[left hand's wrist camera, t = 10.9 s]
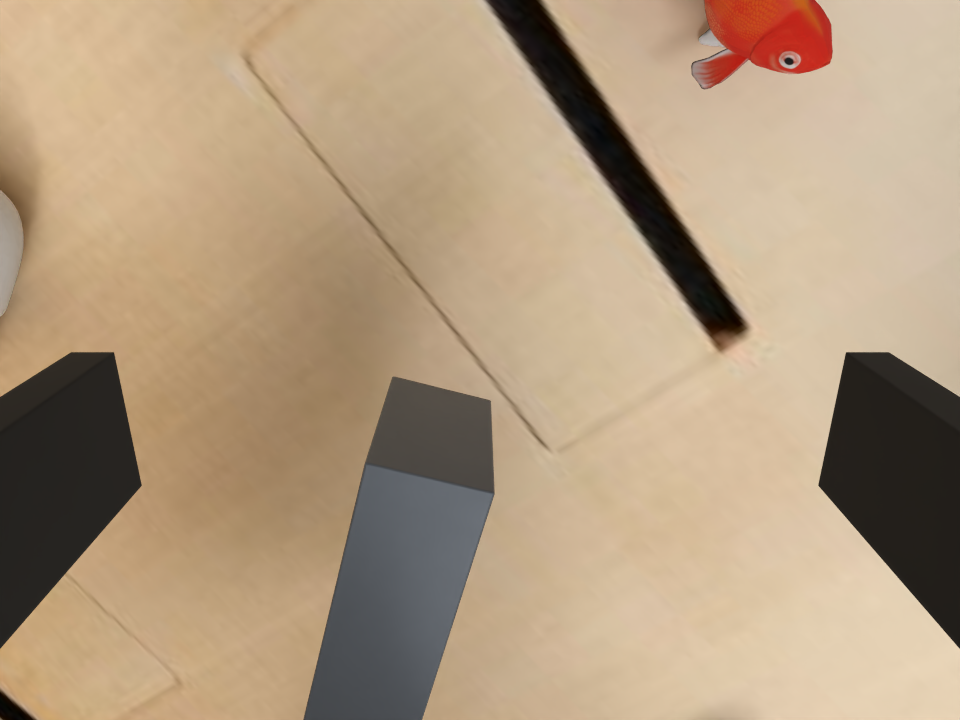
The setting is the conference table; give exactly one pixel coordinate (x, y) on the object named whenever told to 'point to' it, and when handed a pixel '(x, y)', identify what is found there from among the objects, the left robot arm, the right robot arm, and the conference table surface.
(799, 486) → the conference table surface
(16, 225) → the projector
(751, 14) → the fish
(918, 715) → the conference table surface
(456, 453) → the bar
